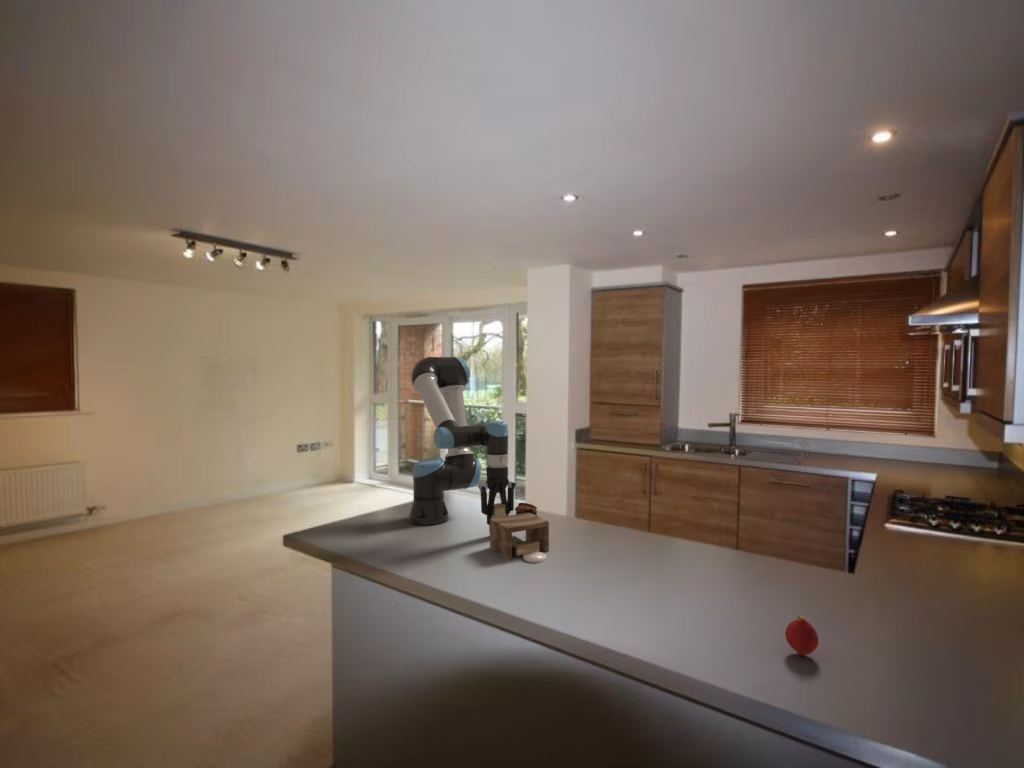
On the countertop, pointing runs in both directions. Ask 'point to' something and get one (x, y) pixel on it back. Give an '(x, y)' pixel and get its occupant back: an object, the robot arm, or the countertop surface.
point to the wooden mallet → (517, 543)
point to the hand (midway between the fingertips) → (497, 532)
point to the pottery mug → (526, 508)
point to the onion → (801, 636)
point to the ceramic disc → (534, 557)
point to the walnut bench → (506, 525)
